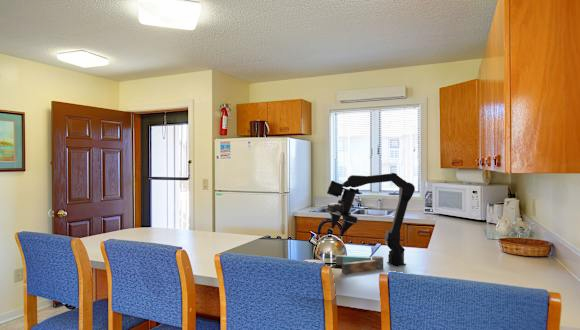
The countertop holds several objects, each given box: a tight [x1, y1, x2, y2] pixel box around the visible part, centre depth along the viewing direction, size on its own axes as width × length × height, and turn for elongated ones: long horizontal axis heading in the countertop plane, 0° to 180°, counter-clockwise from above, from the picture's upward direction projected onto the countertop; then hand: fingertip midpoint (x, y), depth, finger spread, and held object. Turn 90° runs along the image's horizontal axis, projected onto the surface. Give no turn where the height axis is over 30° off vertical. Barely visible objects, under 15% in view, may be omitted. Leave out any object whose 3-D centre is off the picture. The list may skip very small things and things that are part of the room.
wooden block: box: [341, 255, 384, 276], centre depth 169 cm, size 22×6×5 cm, turn 112°
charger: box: [303, 259, 325, 264], centre depth 163 cm, size 5×9×15 cm
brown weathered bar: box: [335, 254, 372, 266], centre depth 177 cm, size 16×3×4 cm, turn 77°
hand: (336, 231), depth 181 cm, fingers open, 9 cm apart
